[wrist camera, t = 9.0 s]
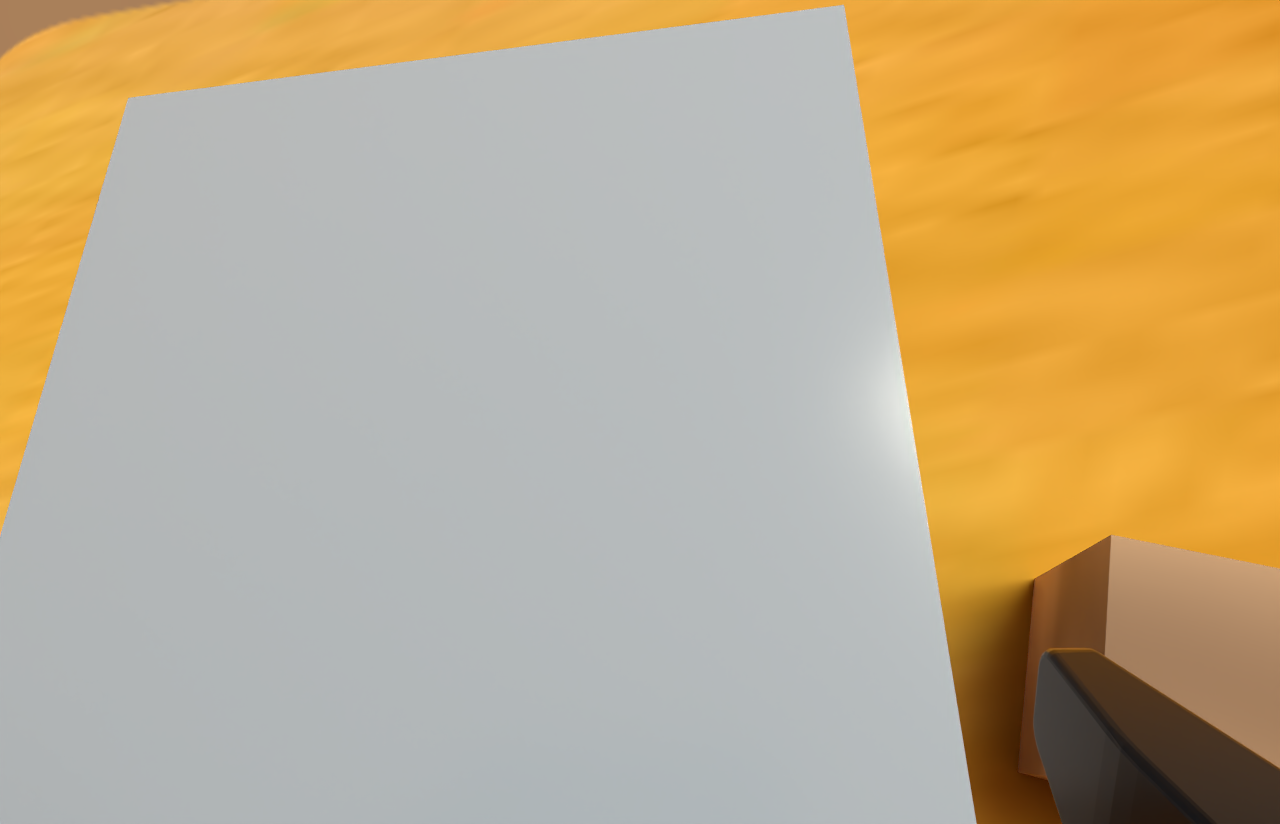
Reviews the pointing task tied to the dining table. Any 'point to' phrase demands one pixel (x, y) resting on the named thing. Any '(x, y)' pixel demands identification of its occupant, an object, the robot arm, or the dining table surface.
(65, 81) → the dining table surface
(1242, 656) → the tan block
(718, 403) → the tall pale pillar
